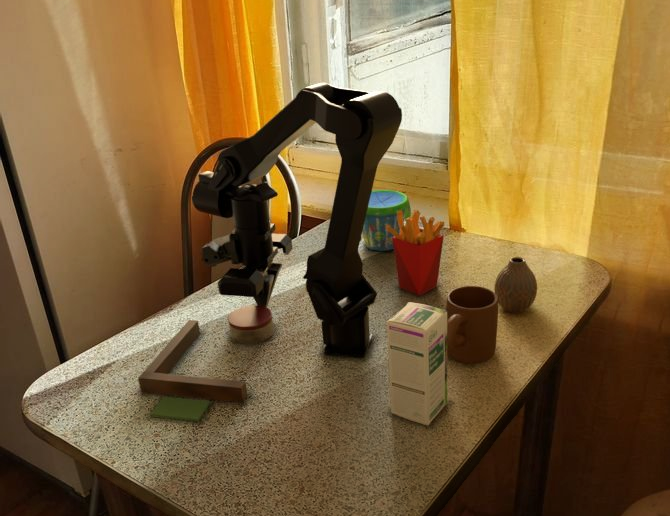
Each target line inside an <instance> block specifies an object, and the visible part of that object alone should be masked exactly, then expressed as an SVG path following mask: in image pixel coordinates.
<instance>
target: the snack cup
mask: <svg viewBox="0 0 670 516" xmlns="http://www.w3.org/2000/svg"><path fill="white" fill-rule="evenodd" d="M399 210H402V212H403V222H404V223H405V220H406V219H407V218H411V215H412V210H411V203H410V199H409V197H408V196H407V195H406V194H405V193H403V192H401V191H397V190H393V189H376V190H372V192H371V196H370V200H369V205H368V209H367V213H366V218H365V222H364V226H363V230H362V238H361V239H360V242H362V239H363V242H364V244H365V245H364V246H366V248H368V249H369V250H372V251H381V252H386V251H391V250H394V248H393V241H392V238H393V237H395V236H394V235H393V234H392V233H390V232H389V231H388V230H387V229H386V228H385V227H386V225H387V224H388V225H390V226H391V228H392V229H393V230H395V231H396V232H397V233H398V234H400V227H399V224H398V219H397V211H399Z"/></svg>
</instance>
